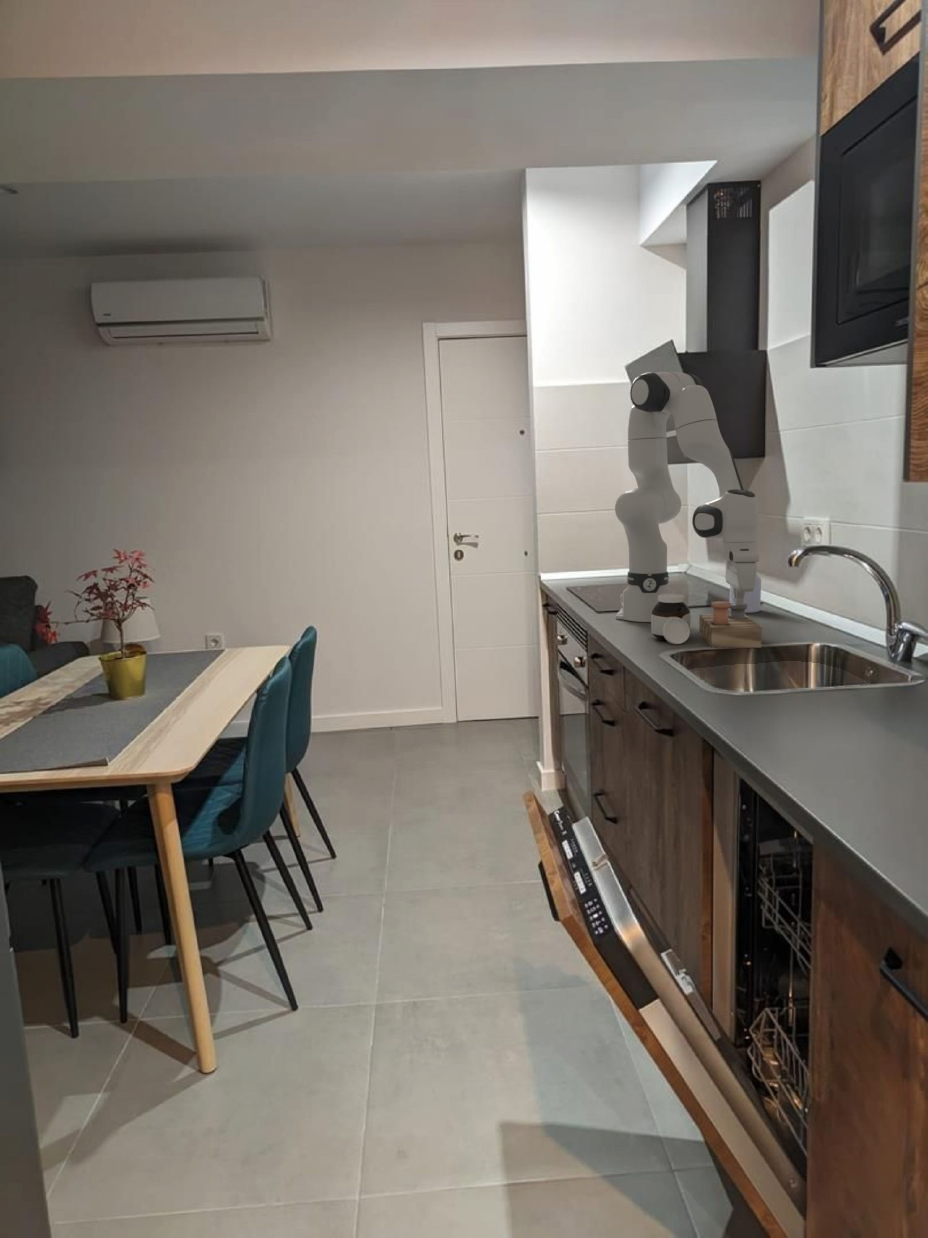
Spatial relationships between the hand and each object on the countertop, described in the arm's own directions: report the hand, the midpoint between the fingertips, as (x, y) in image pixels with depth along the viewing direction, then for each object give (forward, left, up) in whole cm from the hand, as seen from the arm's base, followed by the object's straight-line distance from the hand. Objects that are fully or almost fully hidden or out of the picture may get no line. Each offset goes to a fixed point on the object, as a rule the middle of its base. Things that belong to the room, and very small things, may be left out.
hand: (738, 604), depth 224 cm
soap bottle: (-40, +10, -9) cm, 42 cm away
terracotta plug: (+9, -6, -5) cm, 12 cm away
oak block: (+4, -3, -9) cm, 10 cm away
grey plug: (0, 0, -7) cm, 7 cm away
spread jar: (+5, -18, -9) cm, 20 cm away
